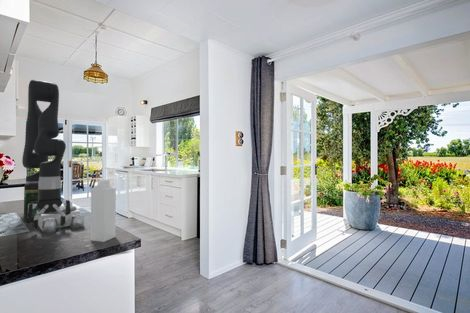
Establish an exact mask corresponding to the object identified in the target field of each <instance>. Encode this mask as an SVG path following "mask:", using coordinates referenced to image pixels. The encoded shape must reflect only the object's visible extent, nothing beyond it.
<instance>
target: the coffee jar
mask: <svg viewBox="0 0 470 313" xmlns="http://www.w3.org/2000/svg"><path fill="white" fill-rule="evenodd" d="M38 183H39V182H38V181H33V182H29V183H27V184H26V183H25V184H24V188H23V192H24V193H23V221H24V222H25V223H33V220H31V219H28V218H27V212H28V204H29V203H31V204H36V203H38ZM37 210H39V208H38V207H37V206H36V207H35V208H34V209H32V216H34V215H35V214H36V213H37Z"/></svg>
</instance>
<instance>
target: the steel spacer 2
mask: <svg viewBox="0 0 470 313" xmlns="http://www.w3.org/2000/svg"><path fill="white" fill-rule="evenodd" d="M84 227H85V214H81V213H80V214H79V215H72V216H71V226H70V229H73V230H75V229H77V228H78V229H82V228H84ZM78 229H77V230H78Z"/></svg>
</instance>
